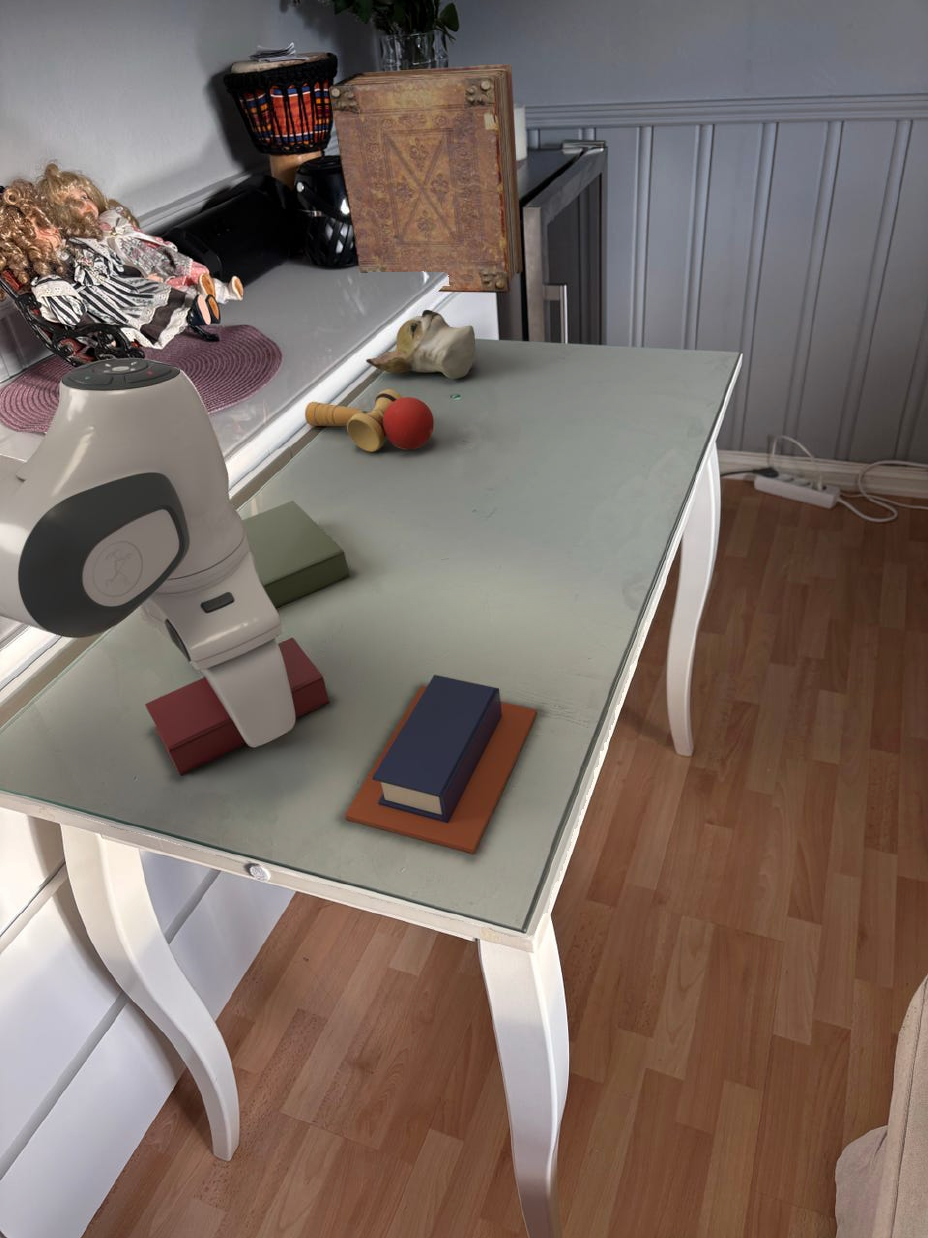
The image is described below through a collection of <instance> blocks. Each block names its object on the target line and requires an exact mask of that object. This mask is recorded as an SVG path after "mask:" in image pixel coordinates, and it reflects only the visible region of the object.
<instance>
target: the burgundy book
mask: <svg viewBox="0 0 928 1238" xmlns="http://www.w3.org/2000/svg"><path fill="white" fill-rule="evenodd" d="M278 645H279V648H280V651H281V654H282V657H283V660H284V664H285V668H286V672H287V676H288V681H289V685H290V690H291V695H292V700H293V705H294V710H295V720H297V719H299V718H300V717H303V716H305V715H307V714H309V713H310V712H313V711H315V710H317V709H319V708H321V707H323V706H325V705H328V704H329V703H330V698H329V694H328V691H327V687H326V683H325V679H324V676H323V674H321V672H320V670H319V669H318V668H317V667H316V665H314V663H313V662H312V660H311V659H310V658H309V656H308V655H307V654H306V652H305V651H304V650H303V648H302V647H301V646H300V645H299V644H298V642H297V641H296V639H294V637H290V638H287V639H286V640H283V641H281V642H279V643H278ZM144 706H145V708H146V710H147V712H148V714H149V716H150V718H151V720H152V721H153V723H154V726H155V727H154V728H155V730H156V732H157V734H158V737H159V738H160V740H161V742H162V744H163V745H164V748H165V749H166V751H167V753H168V756H169V757H170V759H171V761H172V763H173V765H174V767H175V769H176V771H177V773H178V775H179V776H182V775H185V774H186V773H188V772H190V771H193V770H194V769H196V768H199V767H200V766H202V765H204V764H206V763H209V762H211V761H212V760H215V759H217V758H219V757H221V756H223V755H226V754H228V753H229V752H231V751H233V750H235V749H238V748H239V747H241V746H243V745H246V744H247V743H246V742H245V740H244V739H243V737H242V736H241V734H240V732H239V731H238V729H237V727H236V725H235V724H234V722H233V720H232V719H231V717H230V716H229V714H228V712H227V711H226V709H225V708H224V706H223V704H222V703H221V701H220V700H219V698H218V696H217V695H216V693H215V692H214V690H213V688H212V687H211V685H210V684H209V682H208V681H207V679H206V677H205V676H203V677H201V678H199V679H197V680H195V681H192V682H190V683H188V684H186V685H184V686H181V687H180V688H177V689H175V690H173V691H170V692H168V693H166V694H164V695H161V696H160V697H157V698H155V699H153V700H151V701H148V702H146V703H145V704H144Z"/></svg>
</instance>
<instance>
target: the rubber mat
mask: <svg viewBox="0 0 928 1238" xmlns="http://www.w3.org/2000/svg"><path fill="white" fill-rule="evenodd" d="M426 688H427V686H426V685H421V686H420V687H419V689H418V691H417V693H416V694H415V696H414V697H413V699H412V701H411V702H410V704H409V706H408V707H407V709H406V711H405V712H404V714H403V716H402V718H401V719H400V721H399V723H398V725H397V726H396V728H395V729H394V731H393V733H392V734H391V736H390V737H389V740H388V742H387V743H386V745H385V746H384V748H383V750H382V751H381V753H380V755H379V756H378V758H377V760H376V762H374V765H373V767H372V768H371V770H370V771H369V774H368V775H367V776H366V779H365V781H364V782H363V783H362V785H361V786H360V788H359V790H358V791H357V793H356V795H355V796H354V798H353V800H352V802H351V803H350V805H349V807H348V809H347V810H346V812H345V814H344V818H345V820H347V821H350V822H351V821H352V822H355V823H358V824H362V825H366V826H370V827H373V828H378V829H380V830H385V831H388V832H392V833H396V834H399V835H403V836H407V837H410V838H414V839H418V840H422V841H425V842H429V843H433V844H437V845H440V846H443V847H447V848H451V849H455V850H458V851H462V852H465V853H469V854H475V853H476V851H477V849H478V846H479V844H480V841H481V839H482V837H483V835H484V832H485V830H486V828H487V827H488V824H489V821H490V820H491V818H492V815H493V813H494V811H495V808H496V806H497V803H498V801H499V799H500V798H501V795H502V793H503V790H504V788H505V786H506V783H507V781H508V779H509V777H510V775H511V772H512V770H513V768H514V765H515V764H516V762H517V759H518V756H519V755H520V752H521V750H522V748H523V745H524V743H525V741H526V739H527V736H528V734H529V732H530V730H531V728H532V726H533V723H534V721H535V718H536V716H537V714H538V709H536V708H532V707H528V706H523V705H517V704H513V703H508V702H503V701H501V711H502V717H501V719H500V721H499V723H498V725H497V727H496V729H495V731H494V733H493V735H492V737H491V739H490V741H489V743H488V745H487V747H486V749H485V751H484V753H483V755H482V757H481V759H480V761H479V763H478V765H477V767H476V768H475V770H474V772H473V774H472V776H471V778H470V780H469V782H468V784H467V786H466V788H465V790H464V792H463V794H462V796H461V798H460V800H459V802H458V804H457V806H456V808H455V810H454V812H453V814H452V816H451V818H450V820H449V822H448V823H445V822H442V821H438V820H434V819H431V818H427V817H423V816H420V815H416V814H412V813H409V812H405V811H401V810H398V809H394V808H390V807H387V806H383V805H379V804H378V801H379V799H380V798H381V796H382V794H383V788H382V784H381V782H379V781H375V780H373V779H372V777H373V775H374V773H375V772H376V770H377V768H378V767H379V765H380V763H381V762H382V760H383V759H384V757H385V755H386V754H387V752H388V750H389V749H390V747H391V745H392V744H393V742H394V740H395V739H396V737H397V735H398V734H399V732H400V730H401V729H402V727H403V725H404V724H405V722H406V721H407V719H408V717H409V716H410V714H411V712H412V711H413V709H414V707H415V706H416V704H417V702H418V701H419V699H420V697H421V696H422V694H423V692H424V691H425V689H426Z"/></svg>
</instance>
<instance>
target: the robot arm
mask: <svg viewBox="0 0 928 1238" xmlns="http://www.w3.org/2000/svg"><path fill="white" fill-rule="evenodd" d="M58 385H59V389H58V391H59V392H58V393H59V395H58V397H59V399H58V405H57V408H56V411H55V414H54V416H53V418H52V420H51V423H50V425H49V427H48V430H47V431H46V432H45V433H46V434H45V435H44V436H43V438H42V441H41V442H40V444H39V445H38V446H37V448H36V449H35V451H34V452H33V453H32V455H31V456H30V457H29V458H28V459H27V460H25V459H22V458H17V457H13V456H9V455H6V454H3V453H0V617H3V618H6V619H9V620H12V621H15V622H18V623H21V624H23V625H26V626H29V627H32V628H35V629H38V630H41V631H43V632H46V633H50V634H54V635H56V636H59V637H63V638H68V639H69V638H70V639H82V638H89V637H92V636H96V635H100V634H102V633H104V632H107V631H109V630H110V629H113V628H114V627H115V626H117V625H119V624H120V623H121V622H123V621H125V619H127V618H128V617H129V616H131V614H133V613H134V612H135V611H136V610H137V611H138V612H139V615H140V617H141V619H142V620H143V621H144V622H145V623H146V624H148V625H149V626H151V627H152V628H155V629H157V630H158V631H159V632H160V633H161V634H162V635H163V636H164V637H166V638H167V639H168V640H169V641H171V642H172V643H173V644H174V646H175V647H176V648H177V649H178V650H179V652H181V653H182V655H183V656H184V657H185V659H186V660H187V661H188V662H189V663H190V664H191V666H192V667H193V669H195V670H196V671H200V672H202V675H203V677H206V679H207V681H208V682H209V684H210V685H211V687H212V688H213V690H214V692H215V693H216V695H217V696H218V698H219V700H220V701H221V703H222V704H223V706H224V708H225V709H226V711H227V712H228V714H229V716H230V717H231V719H232V720H233V722H234V724H235V725H236V727H237V729H238V731H239V732H240V734H241V736H242V737H243V739H244V740H245V742H246V743H245V744H247V745H248V747H250V748H259V747H260V746H262V745H265V744H267V743H270V742H272V741H273V740H276V739H278V738H280V737H281V736H283V735H285V734H287V733H289V732H290V731H291V730H292V729H293V728H294V726H295V723H296V719H295V710H294V705H293V700H292V695H291V690H290V685H289V681H288V676H287V672H286V668H285V664H284V660H283V657H282V654H281V651H280V648H279V645H278V644H279V643H278V641H277V639H276V638H277V637H279V636H281V635H282V634H283V632H284V630H283V624H282V621H281V617H280V616H279V615H280V614H279V613H278V611H277V608H275V606H274V604H273V602H272V600H271V599H270V597H269V595H268V593H267V592H266V590H265V588H264V586H263V584H262V582H261V578H260V575H259V571H258V568H257V565H256V561H255V558H254V556H253V554H252V551H251V548H250V545H249V541H248V538H247V535H246V531H245V528H244V524H243V522H242V520H243V519H242V517H241V515H240V513H239V512H238V510H237V509H236V507H234V505H233V503H232V501H231V499H230V494H229V487H230V486H229V485H230V479H229V472H228V468H227V464H226V461H225V457H224V454H223V451H222V447H221V445H220V442H219V438H218V435H217V433H216V432H217V431H216V430H215V427H214V425H213V421H212V419H211V417H210V414H209V412H208V409H207V408H206V405H205V403H204V401H203V399H202V397H201V395H200V393H199V391H198V389H197V388H196V386H195V384H194V383H193V382H192V380H191V379H190V377H189V376H188V375H187V374H186V373H185V372H184V371H183V370H182V369H181V368H179V367H176V366H174V364H170V363H166V362H163V361H159V360H154V359H147V358H141V357H140V358H138V357H127V358H126V357H125V358H115V357H113V358H108V359H102V360H96V361H93V362H89V363H85V364H82V365H79V366H78V367H75V368H73V369H72V370H71V371H69V372H67V373H65V374H64V376H62V378H61V379H60V381H59V384H58Z"/></svg>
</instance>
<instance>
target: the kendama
mask: <svg viewBox="0 0 928 1238" xmlns="http://www.w3.org/2000/svg"><path fill="white" fill-rule="evenodd" d="M374 401H375V407H373V409H372V410H371V412H370V411H366V410H362V409H359V408H354V407H350V406H343V405H336V404H329V403H323V402H318V401H310V402H308V404H307V405H306V407H305V410H304V411H305V412H304V417H305V420H306V423H307V424H308V425H309V426H311V427H326V426H327V427H335V426H337V427H346V430H347V433H348V436H349V438H350V439H351V440H352V442H353V443H354V444H356V446H358V448H360V449H362V450H364V451H366V452H369V453H371V452H372V453H373V452H377V451H378V450H380V448H382V447H384V444H385V443H386V438H387V440H388V441H389V442H390V443H391V444H392V445H393V446H395V447H397V448H400V449H403V450H415V449H419V448H421V447H423V446H424V445H426V444H427V443H429V441H430V440H431V437H432V435H433V432H434V428H435V420H434V415H433V412H432V410H431V409H430V407H429V406H428V405H427V403H425V402H424V401H422V400H420V399H419V398H417V397H413V396H412V397H411V396H405V397H403V396H402V395H401V394H400V393H399V392H397V391H395V390H393V389H390V388H386V389H383V390H381V391H380V392H379V393H378V394H377V395H376V396H375V400H374Z"/></svg>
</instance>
